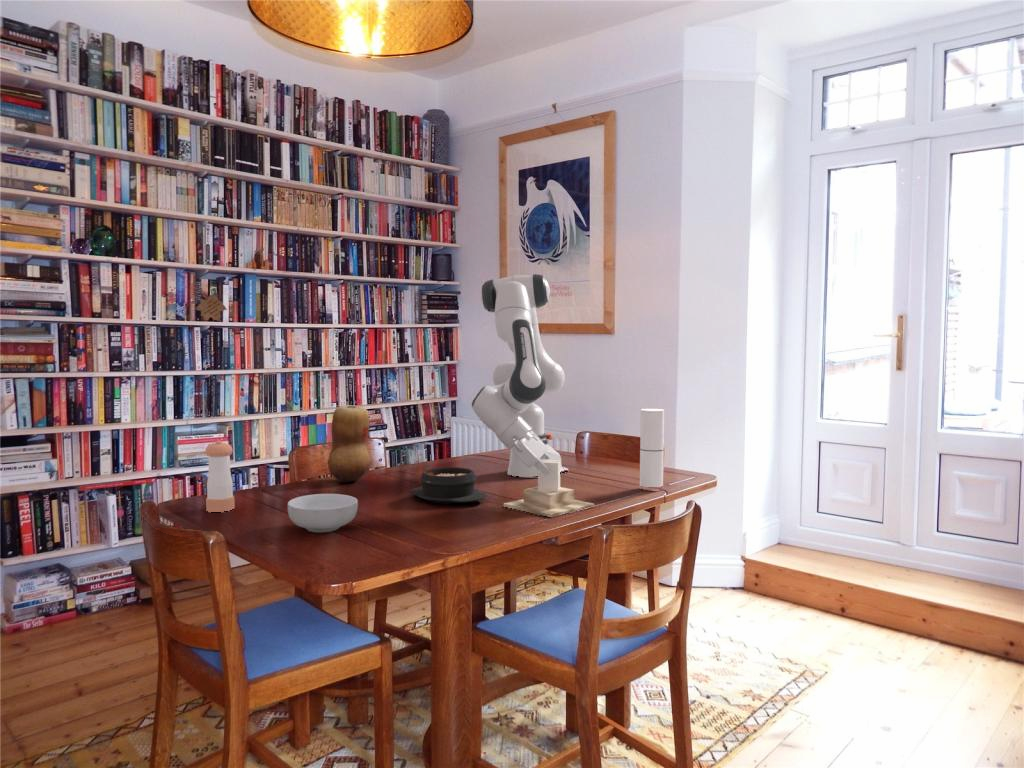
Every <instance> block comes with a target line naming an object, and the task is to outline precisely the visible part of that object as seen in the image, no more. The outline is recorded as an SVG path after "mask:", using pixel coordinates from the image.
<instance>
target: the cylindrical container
mask: <svg viewBox="0 0 1024 768" xmlns="http://www.w3.org/2000/svg"><path fill="white" fill-rule="evenodd" d="M639 433H640V435H639V436H640V439H639V440H640V442H639V445H640V449H639V452H640V453H639V487H640V486H643V487H661V486H663V487H664V450H665V449H664V445H665V443H664V442H665V441H664V439H665V438H664V437H665V436H664V434H665V409H661V408H641V409H640V431H639Z"/></svg>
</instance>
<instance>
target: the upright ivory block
mask: <svg viewBox="0 0 1024 768" xmlns="http://www.w3.org/2000/svg"><path fill="white" fill-rule="evenodd" d="M541 461H542V463H543V464H544V465H545V466H546V467H548V468H549V469H550V470H551V472H550V473H549V474H548V475H547V476H545V475H544V474H543V473H542V472H541V471H540V470H538V477H537V487H538V491H546V492H558V491H559V489H560V487H561V474H560V460H549V459H541Z"/></svg>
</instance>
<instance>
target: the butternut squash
mask: <svg viewBox="0 0 1024 768" xmlns="http://www.w3.org/2000/svg"><path fill="white" fill-rule="evenodd" d="M330 431H331V441H332V442H331V445H332V446H331V451H330V453H329V456H328V459H327V468H328V471H329V473H330V474H331V476H332V477H334V478H335V479H336V480H337V481H338V482H340V483H347V482H348V483H350V482H357V481H358V480H359V479H361V478H362V477H363V476H365V475H366V473H367V472H368V471H369V469H370V467H371V456H370V452H369V450H368V446H367V445H368V437H369V436H368V435H369V433H370V415H369V411H368V409H367V408H365V407H364V406H358V405H351V404H347V405H344V404H343V405H339V406H338V407H336V408H335V410H334V411H333V416H332V420H331V430H330Z"/></svg>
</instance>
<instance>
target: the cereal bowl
mask: <svg viewBox="0 0 1024 768" xmlns="http://www.w3.org/2000/svg"><path fill="white" fill-rule="evenodd" d="M358 507H359V501H358V498H356V497H354V496H351V495H348V494H340V493H315V494H307V495H301V496H298V497H295V498H294V497H293V498H292V499H289V501H288V502H287V513H288V516H289V517H288V518H289V519H290V521H291V522H293V523H294V524H295V525H296V526H297V527H300V528H304V529H306V530H307V531H308V532H311V533H329V532H334V531H336V530H339V529H340V528H341V527H343V526H346V525H348V524H349V523H351V522H352V521H353V520H354V518H355V517H356V516H357V513H358Z"/></svg>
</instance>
